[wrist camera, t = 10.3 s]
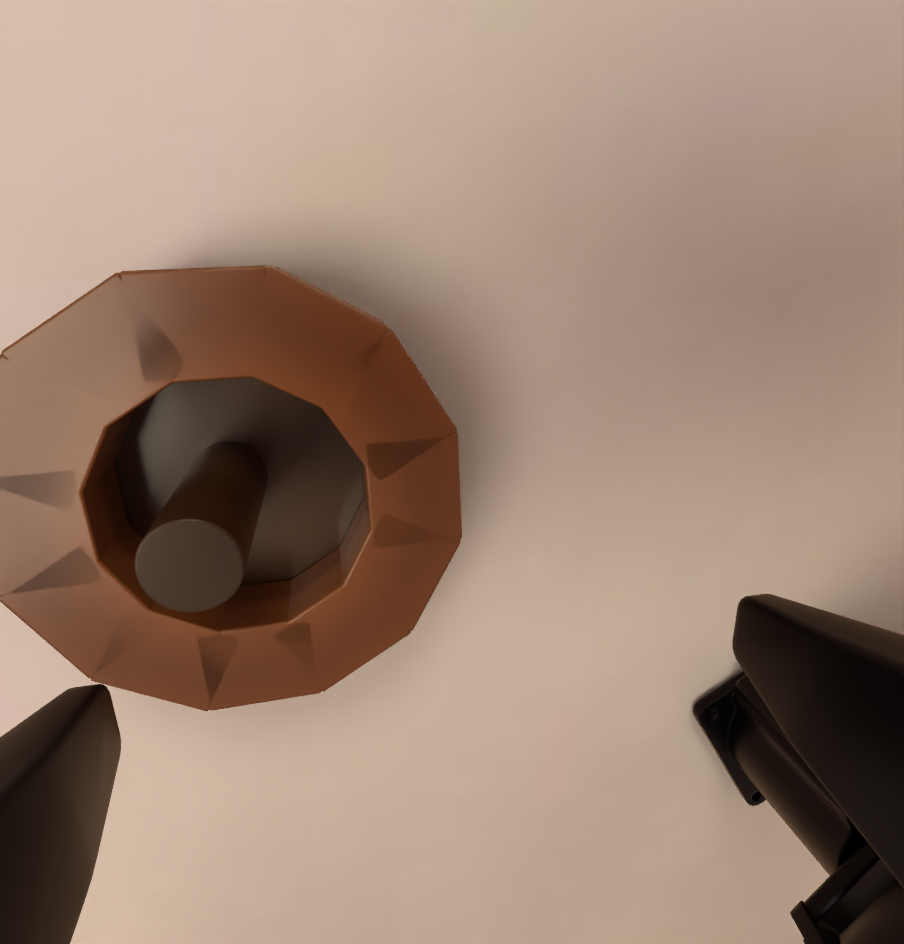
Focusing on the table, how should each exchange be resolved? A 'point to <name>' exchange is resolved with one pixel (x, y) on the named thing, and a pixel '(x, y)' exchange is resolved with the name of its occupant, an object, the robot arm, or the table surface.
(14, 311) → the table surface
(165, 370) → the ring
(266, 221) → the table surface
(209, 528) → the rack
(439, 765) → the table surface
